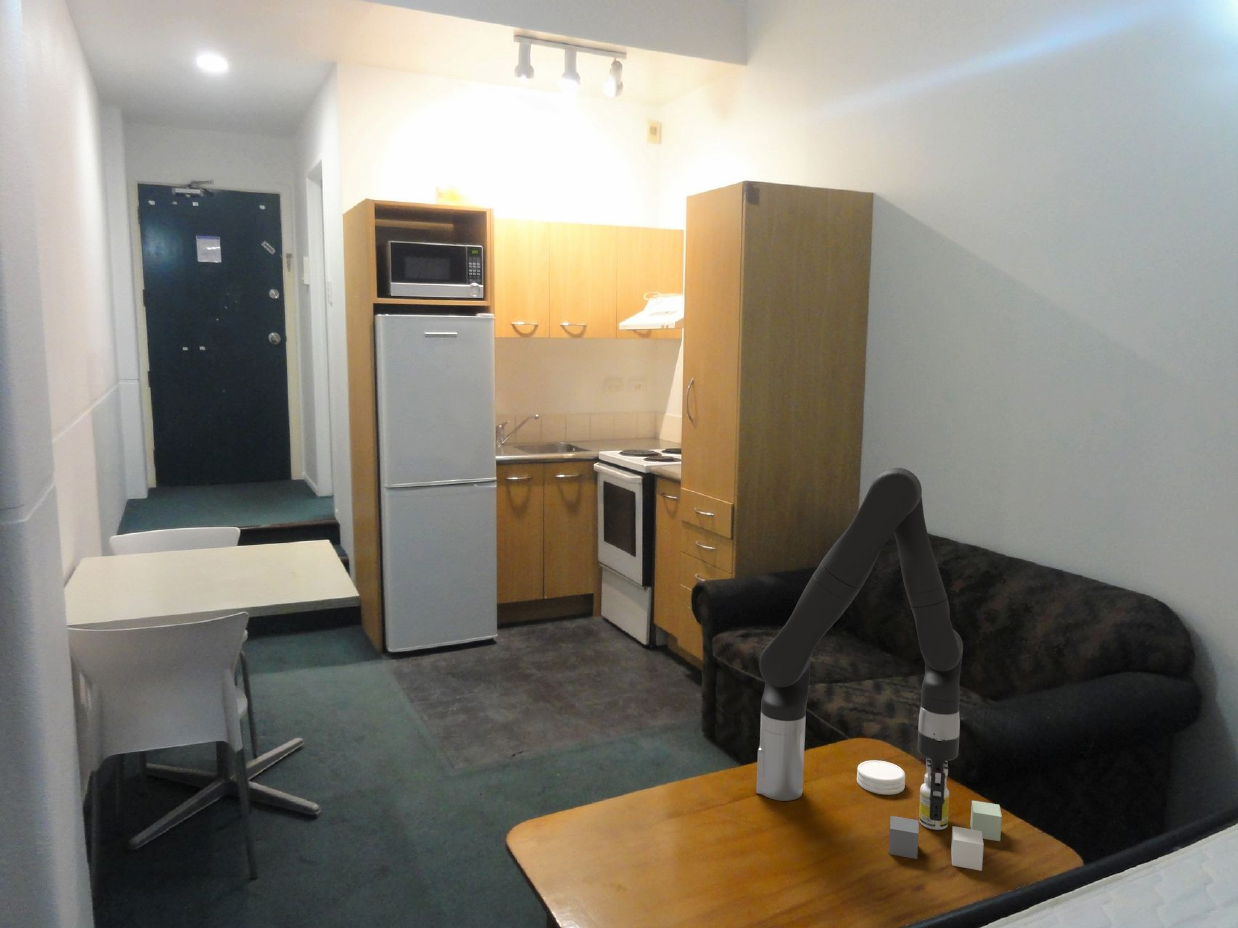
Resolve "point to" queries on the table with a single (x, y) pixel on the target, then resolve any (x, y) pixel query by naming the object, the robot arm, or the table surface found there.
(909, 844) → the medium grey block
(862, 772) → the coaster
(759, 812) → the table surface
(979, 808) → the sage block
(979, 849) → the pale grey block
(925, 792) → the supplement bottle
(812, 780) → the table surface
